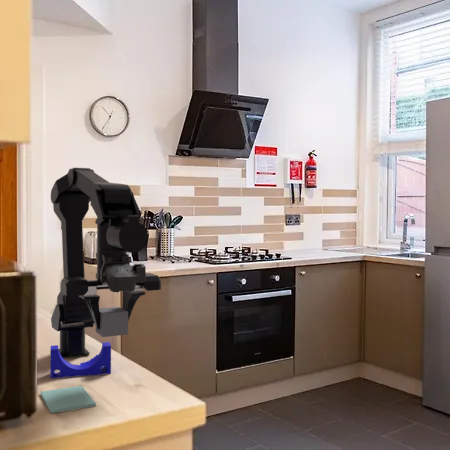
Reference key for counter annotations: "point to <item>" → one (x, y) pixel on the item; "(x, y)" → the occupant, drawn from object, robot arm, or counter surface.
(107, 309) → the gray cube block
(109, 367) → the blue arched bracket
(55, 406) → the teal board
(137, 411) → the counter surface
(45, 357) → the counter surface
